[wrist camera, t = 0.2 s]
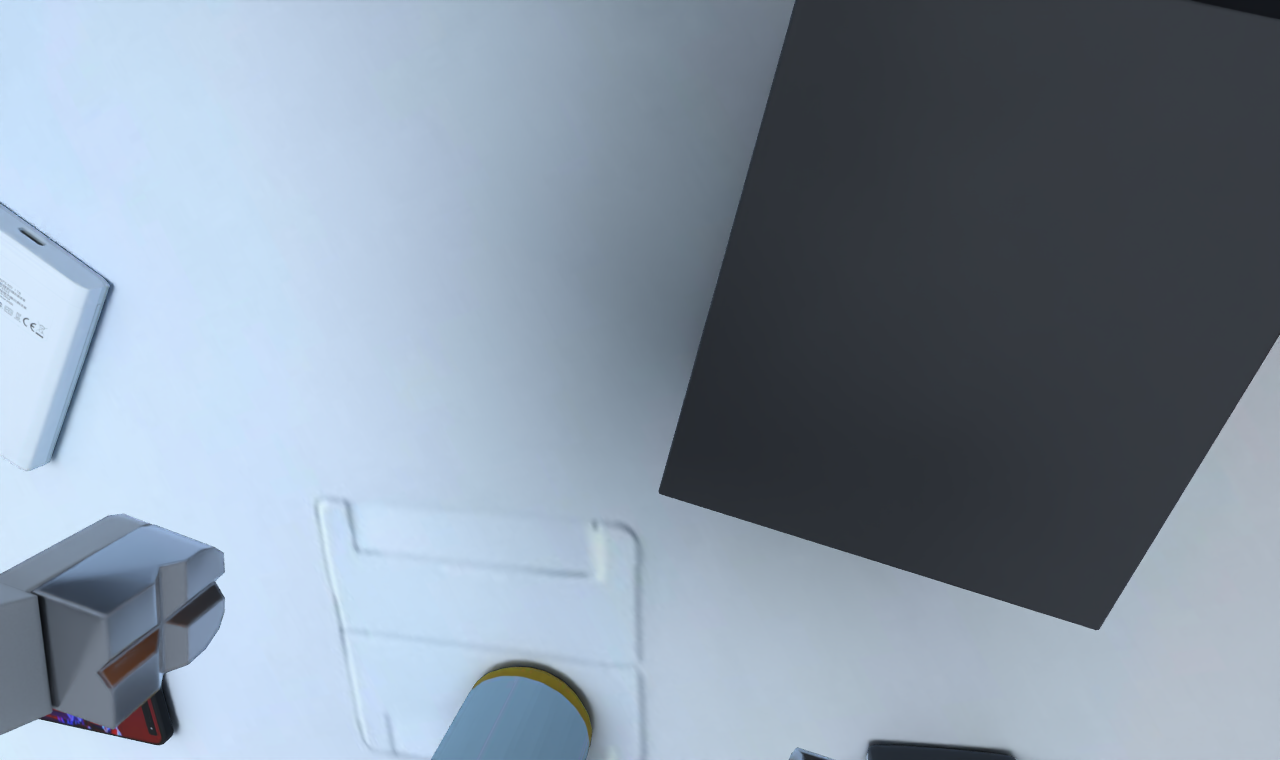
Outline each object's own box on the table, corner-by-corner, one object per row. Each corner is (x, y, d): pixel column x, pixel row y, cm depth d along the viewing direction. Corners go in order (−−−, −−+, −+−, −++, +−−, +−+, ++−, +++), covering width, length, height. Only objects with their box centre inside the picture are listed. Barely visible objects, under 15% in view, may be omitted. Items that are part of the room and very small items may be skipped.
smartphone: (-59, 611, 42) (139, 649, 40) (-43, 603, 43) (152, 639, 40) (-21, 707, 45) (167, 749, 42) (-6, 697, 46) (179, 738, 43)
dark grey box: (804, 6, 23) (817, -81, 14) (1182, 92, 22) (1453, 55, 13) (696, 386, 29) (657, 494, 20) (995, 474, 27) (1099, 632, 18)
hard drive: (-68, 373, 37) (-26, 183, 33) (55, 460, 38) (114, 284, 33) (-104, 383, 36) (-65, 185, 31) (24, 474, 36) (82, 291, 31)
